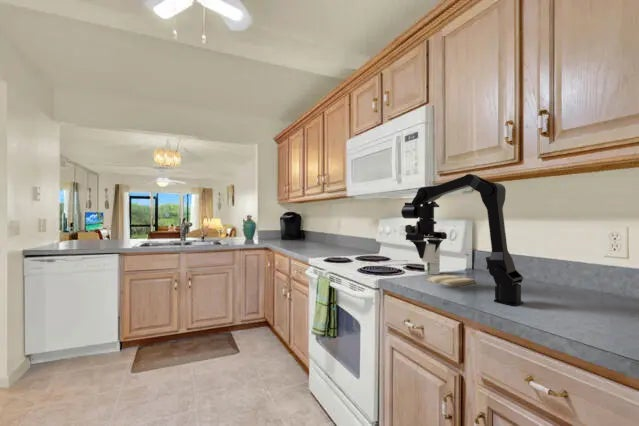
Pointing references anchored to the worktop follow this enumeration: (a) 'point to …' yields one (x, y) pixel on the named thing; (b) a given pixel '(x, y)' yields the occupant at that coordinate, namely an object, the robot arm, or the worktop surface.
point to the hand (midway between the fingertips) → (426, 257)
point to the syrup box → (433, 263)
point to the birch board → (450, 280)
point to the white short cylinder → (428, 253)
